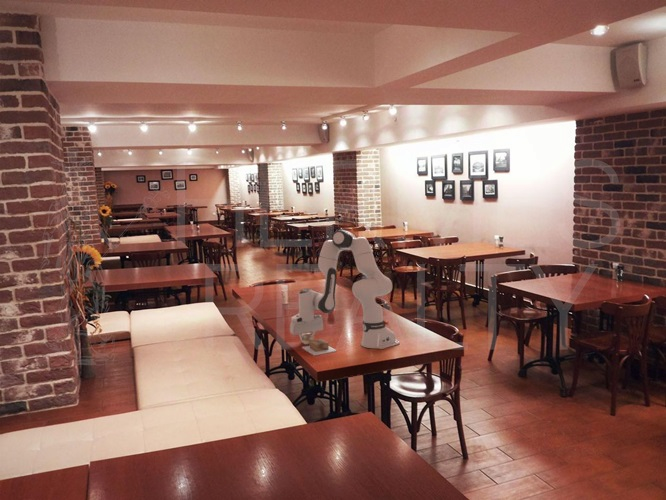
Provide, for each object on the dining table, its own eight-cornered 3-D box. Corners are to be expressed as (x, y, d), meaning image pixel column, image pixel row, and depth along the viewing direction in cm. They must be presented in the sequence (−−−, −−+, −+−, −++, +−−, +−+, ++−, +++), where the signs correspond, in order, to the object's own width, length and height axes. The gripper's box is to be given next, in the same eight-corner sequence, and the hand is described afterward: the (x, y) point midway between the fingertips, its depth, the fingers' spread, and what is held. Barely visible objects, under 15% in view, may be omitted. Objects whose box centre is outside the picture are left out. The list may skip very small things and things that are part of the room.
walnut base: (322, 345, 303) (322, 338, 303) (328, 349, 296) (328, 342, 296) (309, 347, 300) (309, 341, 299) (315, 351, 293) (315, 344, 292)
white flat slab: (323, 344, 308) (323, 343, 308) (336, 351, 294) (336, 350, 294) (301, 348, 302) (301, 347, 302) (313, 355, 288) (313, 354, 288)
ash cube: (309, 340, 316) (309, 332, 315) (312, 343, 311) (312, 334, 311) (301, 342, 313) (301, 334, 313) (305, 344, 309) (304, 336, 308)
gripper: (320, 313, 318) (320, 335, 320) (288, 317, 309) (289, 340, 310) (324, 315, 312) (325, 338, 314) (292, 320, 303) (293, 343, 305)
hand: (307, 339), depth 312 cm, fingers closed on ash cube, 5 cm apart
